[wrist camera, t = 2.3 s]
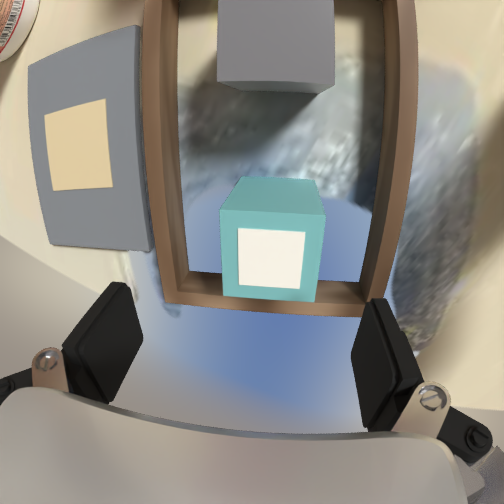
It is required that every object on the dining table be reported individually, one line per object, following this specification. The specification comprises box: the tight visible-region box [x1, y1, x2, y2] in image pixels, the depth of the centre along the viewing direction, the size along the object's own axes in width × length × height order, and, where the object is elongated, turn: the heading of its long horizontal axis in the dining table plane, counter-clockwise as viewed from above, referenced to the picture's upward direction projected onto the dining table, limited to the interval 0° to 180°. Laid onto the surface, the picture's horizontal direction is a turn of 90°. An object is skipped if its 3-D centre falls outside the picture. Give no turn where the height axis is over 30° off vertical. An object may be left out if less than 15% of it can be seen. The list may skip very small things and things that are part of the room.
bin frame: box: [142, 0, 418, 317], centre depth 17 cm, size 16×24×3 cm
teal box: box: [219, 176, 326, 302], centre depth 18 cm, size 5×5×7 cm
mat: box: [28, 25, 153, 252], centre depth 19 cm, size 12×18×1 cm, turn 0°
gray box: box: [217, 0, 335, 94], centre depth 13 cm, size 5×5×7 cm
